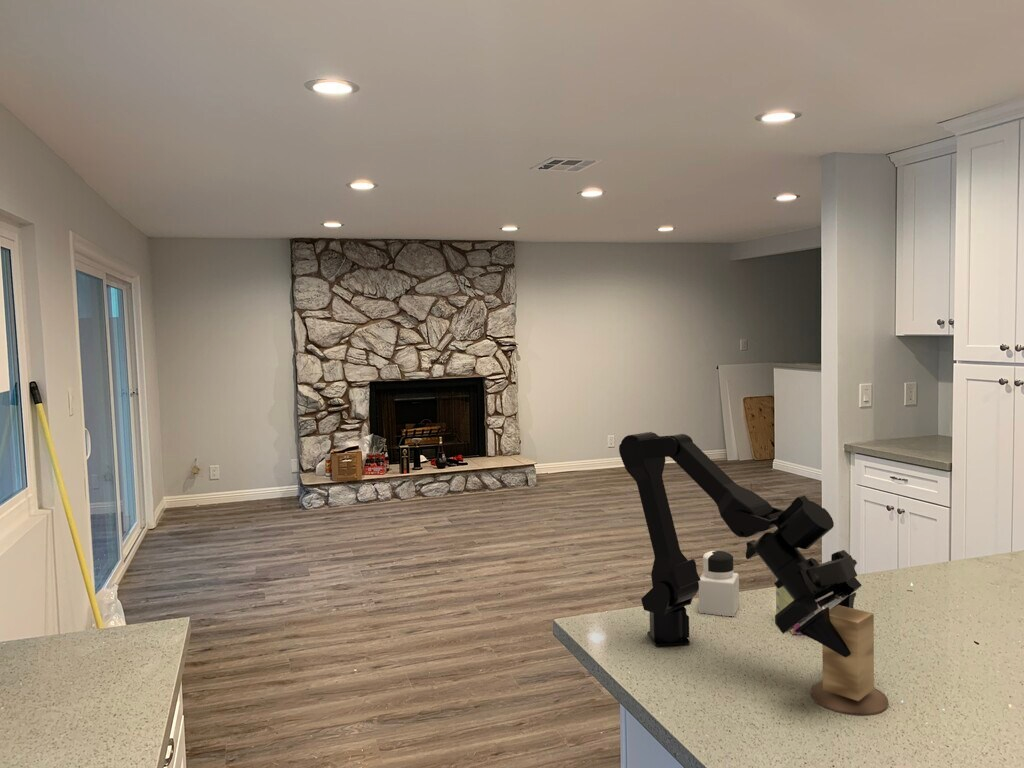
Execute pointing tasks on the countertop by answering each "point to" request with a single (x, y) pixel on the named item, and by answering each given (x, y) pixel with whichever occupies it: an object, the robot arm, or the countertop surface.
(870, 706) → the coaster
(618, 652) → the countertop surface
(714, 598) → the medicine bottle
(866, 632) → the oak block
